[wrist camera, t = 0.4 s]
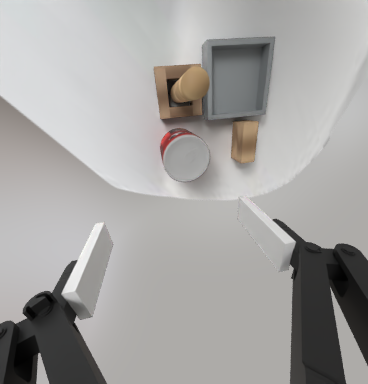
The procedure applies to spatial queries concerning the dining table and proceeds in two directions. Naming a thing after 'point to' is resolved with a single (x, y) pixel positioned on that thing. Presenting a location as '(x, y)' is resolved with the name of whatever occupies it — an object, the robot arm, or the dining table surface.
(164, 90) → the holder
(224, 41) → the tray
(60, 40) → the dining table surface
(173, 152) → the canned food
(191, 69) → the dowel
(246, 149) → the wooden block
